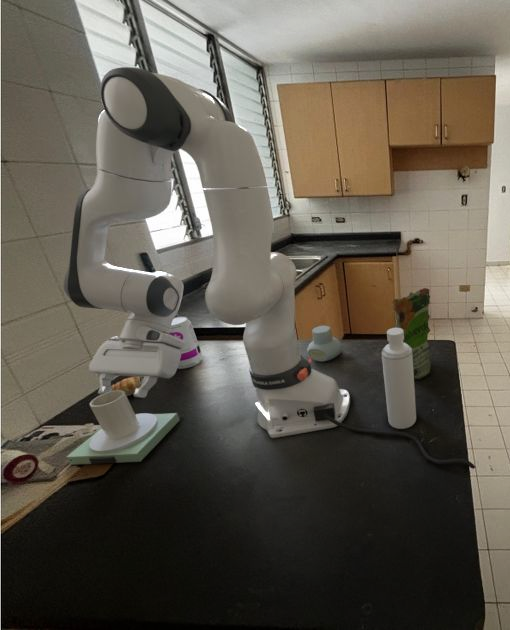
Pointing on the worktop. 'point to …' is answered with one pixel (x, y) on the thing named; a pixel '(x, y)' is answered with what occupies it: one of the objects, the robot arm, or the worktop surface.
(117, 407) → the cup
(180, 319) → the supplement can
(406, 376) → the white bottle
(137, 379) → the pastry
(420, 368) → the pouch
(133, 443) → the scale
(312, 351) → the air freshener
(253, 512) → the worktop surface
